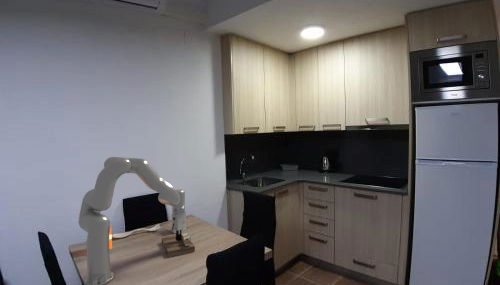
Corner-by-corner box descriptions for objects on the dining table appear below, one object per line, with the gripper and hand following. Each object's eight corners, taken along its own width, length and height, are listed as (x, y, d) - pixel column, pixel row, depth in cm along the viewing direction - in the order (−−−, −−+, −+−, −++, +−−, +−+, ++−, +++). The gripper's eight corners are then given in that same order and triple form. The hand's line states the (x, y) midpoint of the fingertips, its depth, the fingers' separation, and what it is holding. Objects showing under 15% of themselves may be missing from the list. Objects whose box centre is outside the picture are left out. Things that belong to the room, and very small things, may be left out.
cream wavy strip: (162, 231, 191) (162, 226, 191) (111, 241, 175) (111, 236, 175) (159, 227, 199) (159, 223, 199) (111, 237, 182) (110, 232, 182)
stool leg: (190, 245, 157) (190, 239, 157) (185, 246, 156) (185, 240, 156) (186, 237, 169) (185, 232, 169) (181, 238, 168) (181, 232, 168)
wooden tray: (194, 251, 157) (194, 241, 157) (168, 257, 150) (168, 246, 150) (185, 237, 178) (184, 228, 178) (161, 242, 172) (161, 232, 171)
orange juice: (106, 244, 169) (104, 213, 169) (112, 248, 164) (111, 215, 163) (92, 248, 163) (91, 216, 163) (98, 252, 158) (97, 219, 157)
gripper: (176, 214, 155) (176, 245, 155) (190, 207, 169) (190, 236, 170) (165, 212, 158) (165, 244, 158) (180, 206, 172) (180, 235, 172)
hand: (178, 240), depth 164 cm, fingers closed
